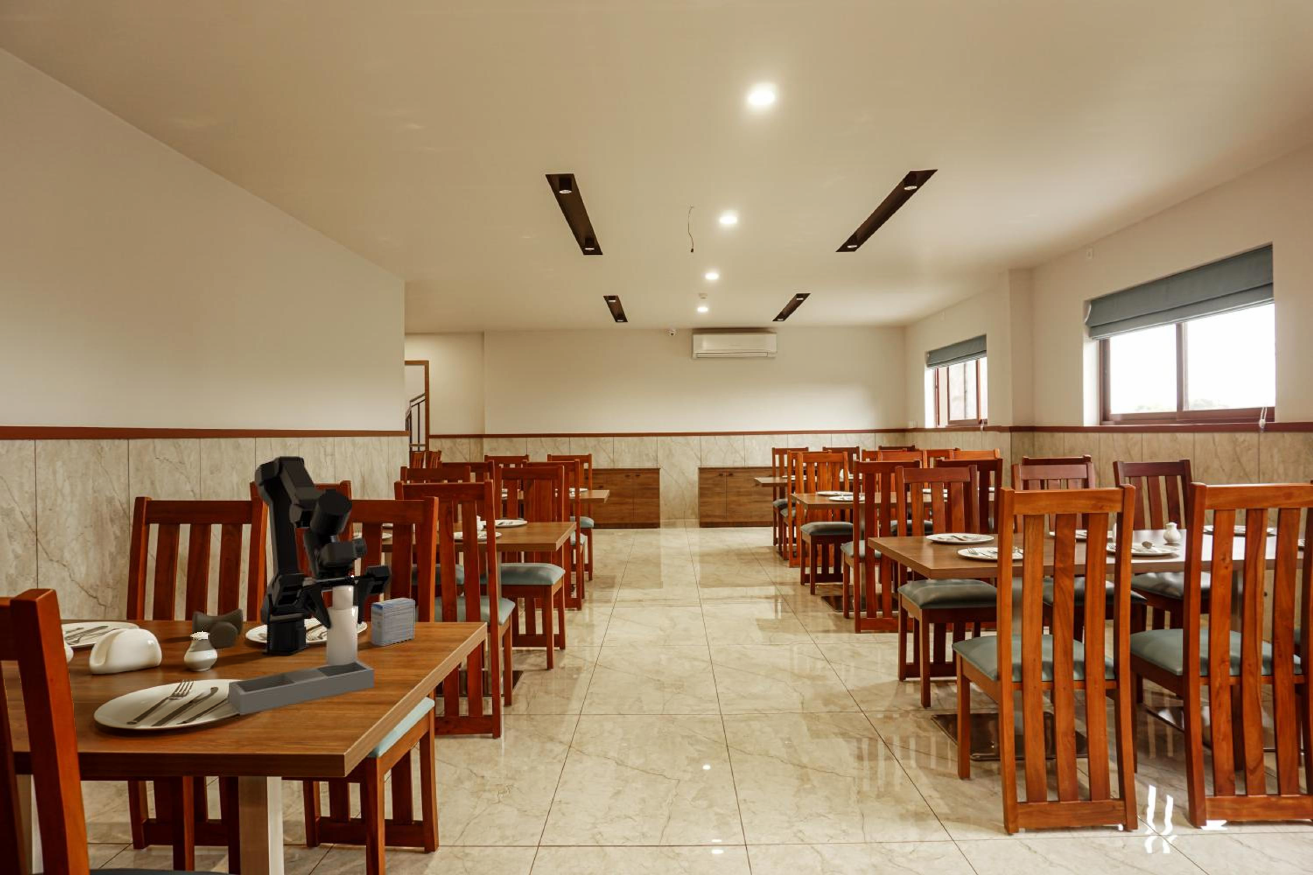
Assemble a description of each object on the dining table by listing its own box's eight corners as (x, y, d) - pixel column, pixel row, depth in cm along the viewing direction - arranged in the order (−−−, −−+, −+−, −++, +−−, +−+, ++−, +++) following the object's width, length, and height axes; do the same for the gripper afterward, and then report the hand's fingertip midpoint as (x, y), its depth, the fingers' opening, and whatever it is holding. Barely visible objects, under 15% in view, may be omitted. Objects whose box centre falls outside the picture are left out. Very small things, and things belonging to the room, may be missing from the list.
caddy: (228, 705, 115) (228, 682, 115) (356, 679, 129) (357, 659, 129) (240, 718, 109) (240, 694, 109) (373, 690, 123) (374, 669, 123)
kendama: (195, 654, 147) (189, 632, 163) (249, 648, 153) (238, 627, 169) (197, 625, 147) (191, 605, 163) (251, 620, 153) (240, 602, 169)
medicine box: (402, 636, 160) (402, 597, 160) (414, 639, 157) (415, 599, 158) (370, 643, 154) (370, 602, 154) (382, 647, 151) (383, 605, 151)
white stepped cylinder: (320, 664, 121) (321, 589, 121) (336, 656, 126) (337, 584, 126) (347, 665, 120) (348, 590, 121) (362, 657, 125) (363, 585, 125)
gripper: (277, 526, 120) (296, 604, 112) (389, 520, 133) (413, 589, 124) (264, 568, 126) (281, 645, 117) (372, 558, 138) (394, 627, 130)
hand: (345, 625), depth 122 cm, fingers closed on white stepped cylinder, 5 cm apart
